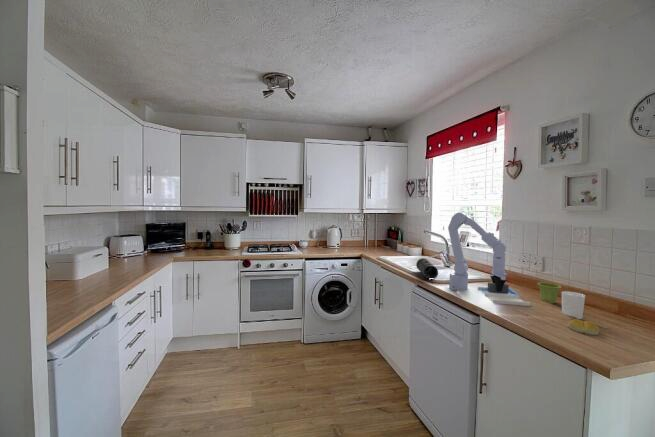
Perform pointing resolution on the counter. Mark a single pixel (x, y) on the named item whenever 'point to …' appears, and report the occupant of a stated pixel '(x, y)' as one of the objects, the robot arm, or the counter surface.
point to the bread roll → (584, 327)
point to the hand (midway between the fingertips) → (497, 290)
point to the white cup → (573, 304)
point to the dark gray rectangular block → (493, 288)
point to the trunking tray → (504, 297)
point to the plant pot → (549, 292)
